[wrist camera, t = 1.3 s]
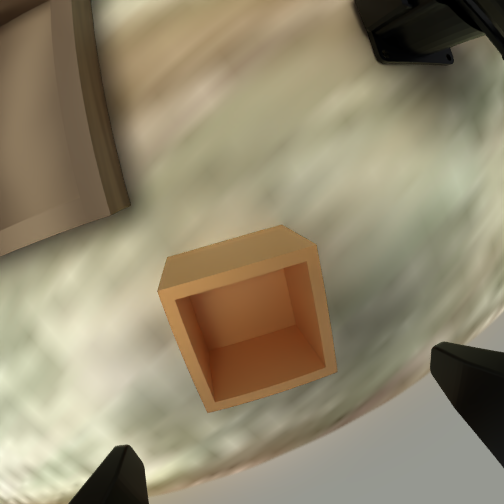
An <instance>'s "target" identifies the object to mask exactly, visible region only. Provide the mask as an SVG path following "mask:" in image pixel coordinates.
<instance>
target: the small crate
mask: <svg viewBox="0 0 504 504" xmlns="http://www.w3.org/2000/svg"><path fill="white" fill-rule="evenodd" d="M157 292H158V294H159V297H160V300H161V303H162V305H163V308H164V311H165V313H166V316H167V319H168V321H169V324H170V326H171V329H172V331H173V334H174V336H175V339H176V341H177V344H178V346H179V349H180V351H181V354H182V356H183V359H184V361H185V363H186V366H187V368H188V370H189V373H190V375H191V377H192V380H193V382H194V384H195V386H196V389H197V391H198V393H199V395H200V398H201V400H202V402H203V404H204V406H205V408H206V411H207V413H210V412H214V411H218V410H222V409H226V408H229V407H233V406H237V405H240V404H244V403H247V402H251V401H254V400H257V399H261V398H264V397H267V396H270V395H274V394H277V393H280V392H283V391H286V390H289V389H292V388H295V387H298V386H301V385H303V384H306V383H309V382H312V381H315V380H317V379H320V378H323V377H325V376H328V375H331V374H333V373H336V372H337V364H336V357H335V350H334V343H333V337H332V330H331V324H330V318H329V312H328V306H327V300H326V294H325V288H324V282H323V277H322V271H321V266H320V261H319V255H318V250H317V245H316V244H314V243H313V242H311V241H309V240H308V239H306V238H304V237H302V236H301V235H299V234H297V233H295V232H294V231H292V230H290V229H288V228H287V227H285V226H283V225H279V226H275V227H272V228H268V229H265V230H261V231H258V232H254V233H250V234H247V235H243V236H240V237H236V238H233V239H229V240H226V241H222V242H219V243H215V244H212V245H208V246H205V247H201V248H198V249H194V250H191V251H188V252H184V253H181V254H177V255H174V256H170V257H167V260H166V263H165V266H164V270H163V273H162V277H161V280H160V283H159V287H158V291H157Z"/></svg>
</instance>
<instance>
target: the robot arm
mask: <svg viewBox="0 0 504 504" xmlns="http://www.w3.org/2000/svg"><path fill="white" fill-rule="evenodd" d="M355 2H356V4H357V7H358V9H359V12H360V14H361V17H362V20H363V22H364V25H365V28H366V29H367V32H368V35H369V38H370V41H371V44H372V47H373V50H374V53H375V56H376V58H377V59H378V60H379V61H380V62H381V63H406V64H433V65H450V64H453V62H454V59H453V55H452V52H451V49H450V47H452V46H455V45H458V44H460V43H463V42H466V41H469V40H472V39H475V38H478V37H481V36H484V35H486V36H487V37H488V38H489V40H490V41H491V42H492V43H493V45H494V46H495V47H496V48H497V50H498V51H499V52H500V54H501V55H502V58H503V60H504V0H355ZM382 52H383V53H384V54H385V55H386V57H384V56H383V54H382ZM446 57H447V58H446ZM430 371H431V374H432V375H433V377H434V378H435V380H436V381H437V383H438V384H439V386H440V387H441V389H442V390H443V392H444V393H445V395H446V396H447V398H448V399H449V401H450V402H451V404H452V405H453V406H454V408H455V409H456V410H457V412H458V413H459V414H460V415H461V416H462V418H463V419H464V420H465V421H466V422H467V424H468V425H469V426H470V427H471V428H472V430H473V431H474V432H475V433H476V434H477V436H478V437H479V438H480V439H481V440H482V442H483V443H484V444H485V445H486V446H487V448H488V449H489V450H490V451H491V453H492V454H493V455H494V456H495V457H496V459H497V460H498V461H499V463H500V464H501V465H502V466H503V468H504V352H498V351H492V350H487V349H481V348H475V347H470V346H465V345H460V344H454V343H449V342H441V343H439V344H437V345H435V346H434V347H433V348H432V350H431V362H430ZM68 504H149V501H148V494H147V486H146V477H145V469H144V465H143V463H142V461H141V459H140V458H139V457H138V455H137V454H136V453H135V451H134V450H133V448H132V447H131V446H130V445H119V446H115V447H114V448H113V450H112V451H111V452H110V453H109V454H108V456H107V457H106V458H105V459H104V461H103V462H102V463H101V464H100V466H99V467H98V468H97V469H96V470H95V472H94V473H93V474H92V475H91V477H90V478H89V479H88V480H87V481H86V483H85V484H84V485H83V486H82V488H81V489H80V490H79V491H78V492H77V494H76V495H75V496H74V497H73V499H72V500H71V501H70V502H69V503H68Z"/></svg>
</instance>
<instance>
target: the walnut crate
mask: <svg viewBox="0 0 504 504" xmlns="http://www.w3.org/2000/svg"><path fill="white" fill-rule="evenodd" d="M129 206H131V204H130V201H129V197H128V193H127V190H126V186H125V182H124V179H123V175H122V171H121V167H120V163H119V159H118V155H117V151H116V147H115V142H114V138H113V134H112V129H111V125H110V120H109V115H108V110H107V105H106V100H105V95H104V90H103V85H102V79H101V73H100V67H99V61H98V55H97V48H96V41H95V34H94V26H93V18H92V9H91V0H0V256H3V255H5V254H7V253H10V252H12V251H15V250H17V249H20V248H22V247H25V246H27V245H30V244H32V243H35V242H37V241H40V240H43V239H45V238H48V237H51V236H53V235H56V234H59V233H61V232H64V231H67V230H70V229H72V228H75V227H78V226H81V225H84V224H86V223H89V222H92V221H95V220H98V219H101V218H104V217H107V216H110V215H112V214H114V213H116V212H118V211H120V210H122V209H124V208H126V207H129Z"/></svg>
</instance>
